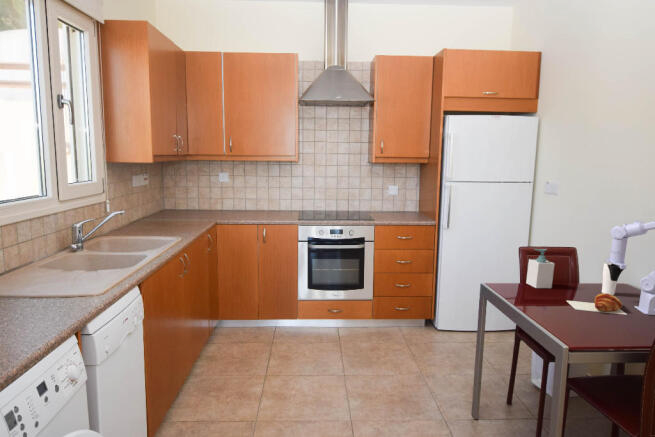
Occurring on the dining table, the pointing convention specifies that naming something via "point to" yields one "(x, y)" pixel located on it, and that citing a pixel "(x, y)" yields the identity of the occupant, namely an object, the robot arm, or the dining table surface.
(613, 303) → the croissant
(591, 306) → the mat
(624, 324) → the dining table surface
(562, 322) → the dining table surface
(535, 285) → the soap bottle
